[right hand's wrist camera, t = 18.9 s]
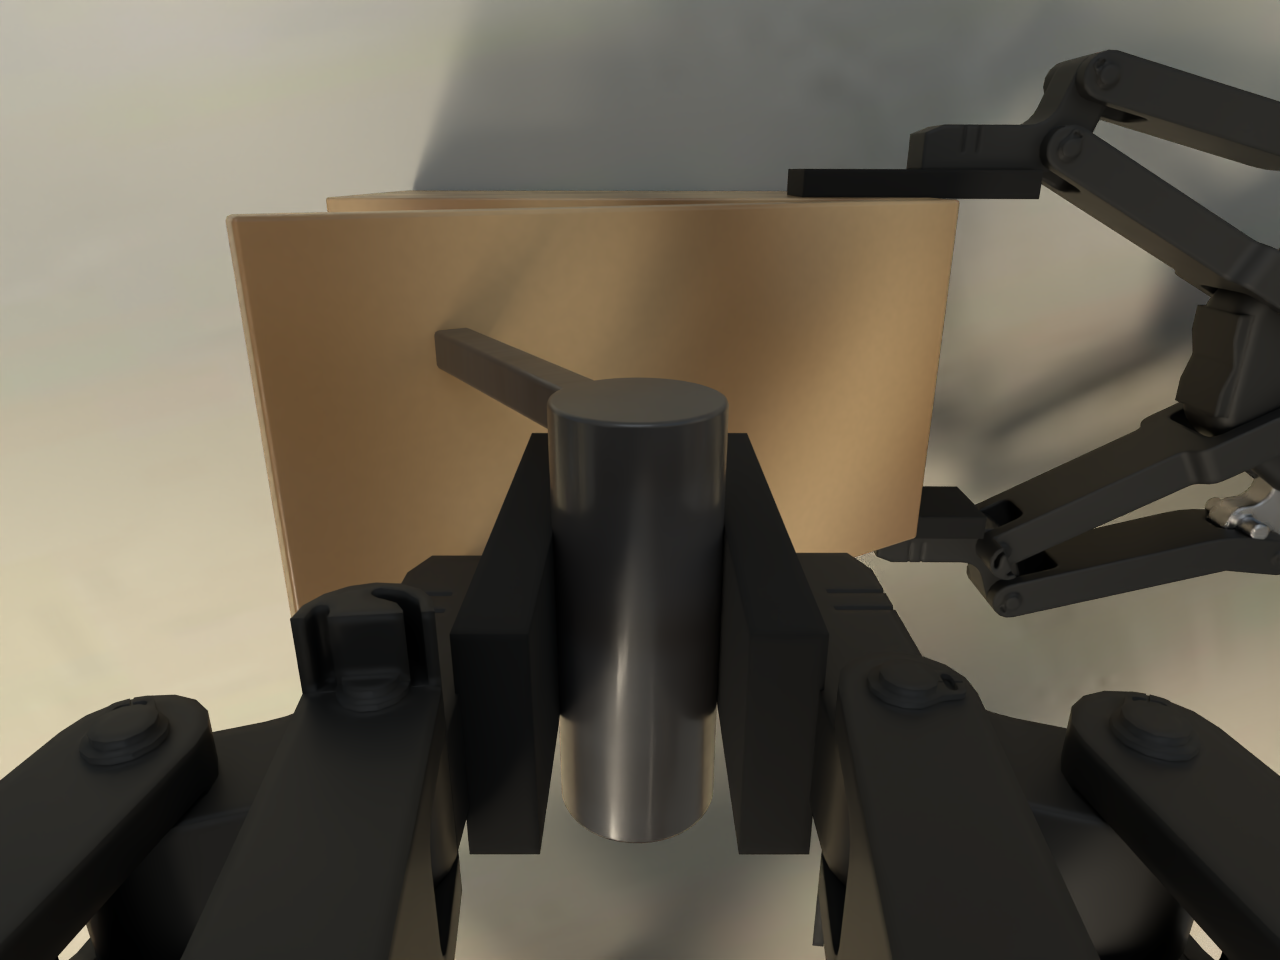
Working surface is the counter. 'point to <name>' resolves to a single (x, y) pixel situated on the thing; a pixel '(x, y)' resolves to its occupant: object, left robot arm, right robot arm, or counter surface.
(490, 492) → the lid
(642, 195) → the chest
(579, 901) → the counter surface
